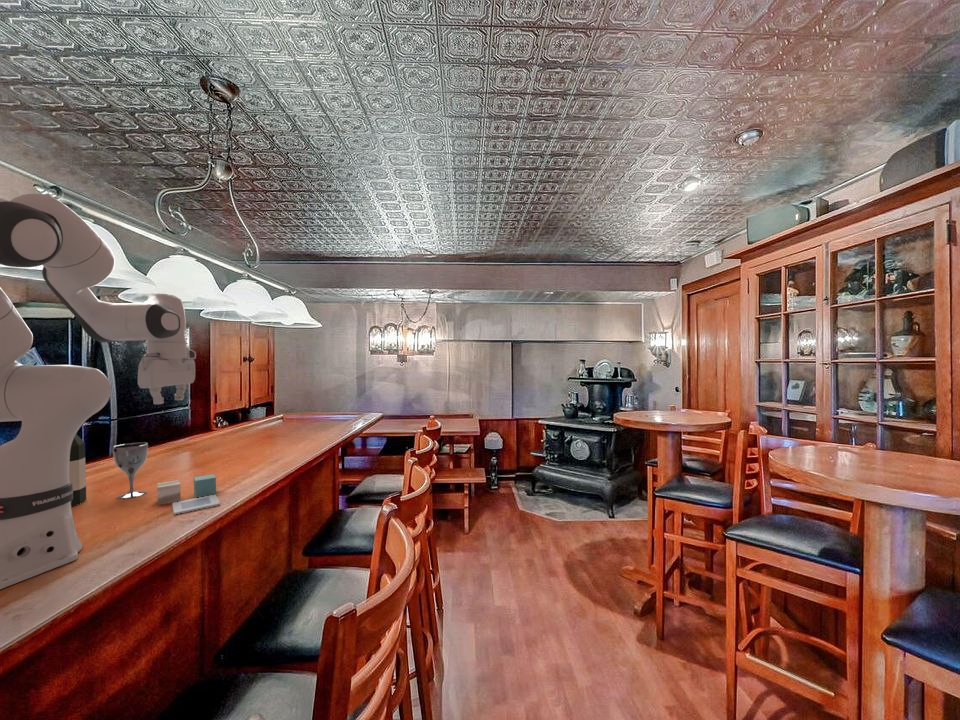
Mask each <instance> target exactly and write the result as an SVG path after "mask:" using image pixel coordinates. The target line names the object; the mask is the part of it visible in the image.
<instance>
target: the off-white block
mask: <svg viewBox="0 0 960 720" xmlns="http://www.w3.org/2000/svg"><path fill="white" fill-rule="evenodd" d="M156 484H157V485H156V486H157V491H156V492H157V494H156V495H157V506H162V505H161V504H163V505H167V504H166V503H168V504H172V502H173V503H174V502H177V501H178V502H179V501H182V500H181V497H182V496H181V482H180V479H176V480H172V481H171V480H170V481H165V482H159V483H156Z"/></svg>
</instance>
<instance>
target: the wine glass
mask: <svg viewBox="0 0 960 720" xmlns="http://www.w3.org/2000/svg"><path fill="white" fill-rule="evenodd" d="M148 452H149V443H148V442H145V441H144V442H143V441H142V442H139V441H138V442H131V443H123V444H118V445H114V446H112V457H113V461H114V464H115V466H116V467H117V468H118V469H119V470H121V471H122V472H123V473H124V474H126V476H127V478H128V482H129V491H128V492H126V493H123V494H120V495H117V496H118V497H117V496H116V497H117V498H118V499H117V500H128V499H127V498H129V499H134V497H135V498H139V497H141V496H144V495H147V494H148V491H147V490H134V481H135V476H136V474H137V472H138V471H139V470H140V469H141V467H142V466H144V464H145V462H146V461H147V457H148V454H149V453H148Z"/></svg>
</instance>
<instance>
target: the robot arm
mask: <svg viewBox="0 0 960 720" xmlns="http://www.w3.org/2000/svg"><path fill="white" fill-rule="evenodd" d="M113 252H114V251H113V250H112V249H111V248H110V246H109V244H108V243H107V242H106V241H105V240H104V239H103V238H102V237H101V236H100V235H99V233H98V232H96V231H95V229H94V228H93V227H92V226H90V224H88V223H87V222H86V221H85V220H84V219H83V218H82V217H81V216H80V215H79V214H78V213H76V212H75V211H74V210H73V209H72V208H70V207H69V206H68V205H66V204H64V203H63V202H62V201H61V200H59V199H57V198H55V197H52V196H50V195H48V194H42V193H28V194H22V195H21V194H20V195H19V196H16V197H14V198H12V199H10V200H7V199H4V198H2V197H0V265H2V266H5V267H13V268H35V267H39V266H43V268H42V273H41V274H42V278H43V280H44V282H45V284H46V285H47V286H48V288H49V289H50V290H51V292H52V293H53V294H54V295H55V296H56V297H57V298H58V300H59V301H60V302H61V303H62V304H63V305H64V306H65V307H66V308H67V310H68V311H70V312H71V314H72V315H73V316H74V317H75V319H77V321H78V322H79V323H80V325H81V328H82V330H83V331H84V333H85V334H86V335H87V336H89V338H91V339H93V340H94V341H96V342H99V343H113V342H121V341H122V342H124V341H125V342H127V341H129V342H130V341H132V342H133V341H146V351H147V352H145V353H144V355H143V356H142V357H141V359H140V360H141V361H140V362H139V364H138V370H137V385H138V387H139V388H140V389H149V390H148V391H149V393H150V395H151V397H152V400H153V401H152V402H153V405H162V404H164V403H165V397H164V396H162V393H161V392H162V388H164V387H171V386H175V389H176V392H175V394H174V395H173V396H174V399H173V400H174V401H183V400H184V399H185V392H186V389H187V385H188V384H193V383H194V382H195V380H196V361H195V360H196V358H197V354H196V353H197V352H196V351H195V350H192V349H191V348H190V347H189V346H188V345H187V339H186V336H185V335H186V333H185V332H186V329H187V321H186V313H185V312H186V311H185V306H184V303H183V301H182V300H183V299H181V298H180V297H178V296H177V295H176V296H175V295H173V294H167V293H152V294H150V295H149V296H148V298H147V300H145V301H142V302H130V303H129V302H128V303H127V302H126V303H125V302H122V303H121V302H119V303H116V302H108V301H102V300H100V299H98V297H96V295H95V294H94V292H93V291H92V290H91V289H90V288H93V287H95V286H98V285H100V284H102V283H103V282H105V281H106V280H107V279H108V278H109V277H110V276H111V274H112V273H113V272H114V269H115V266H116V257H115V254H114V253H113ZM33 340H34V336H33V332H32V331H31V329H30V328H29V327H28V325H27V323H26V322H25V320H24V319H23V317H22V316H21V314H20V313H19V312H18V310H17V309H16V306H15V305H14V304H13V303H12V301H11V299H10V298H9V296H8V295H7V294H6V293H5V291H4V290H3V288H1V286H0V423H2V422H5V423H6V422H19V421H20V422H21V427H20V430H19V432H18V434H17V436H16V437H15V438H14V439H12V440H9V441H8V442H5V443H2V445H0V590H2V589H4V588H7V587H9V586H12V585H15V584H18V583H19V582H22V581H25V580H28V579H30V578H32V577H35V576H38V575H40V574H43V573H45V572H48V571H51V570H53V569H56V568H58V567H61V566H64V565H66V564H68V563H71V562H74V561H76V560H77V559H78V558H79V554H78V553H79V552H80V551H81V550H82V549H83V545H82V542H81V540H80V539H79V535H78V531H77V530H76V526H75V522H74V516H73V511H72V506H71V502H72V499H73V487H72V482H70V481H69V464H70V450H71V445H72V442H73V439H74V437H75V435H76V434H77V433H78V431H80V428H81V427H82V426H83V424H85V422H86V421H87V420H88V419H89V418H91V417H92V416H93V415H95V414H97V413H99V411H101V410H102V409H103V408H104V407H105V406H106V405H107V403H108V402H109V400H110V397H111V394H112V386H111V383H110V380H109V378H108V377H107V375H106V374H105V373H103V372H102V371H101V370H100V369H98V368H94V367H88V366H84V365H83V366H81V365H73V364H46V365H45V364H44V365H43V364H42V365H41V364H40V365H35V364H34V365H30V364H29V365H27V364H26V365H25V364H22V363H19V362H18V360H19V359H22V357H23V356H25V355H26V354H28V352H29V351H30V349H31V348H32V346H33V342H34V341H33Z"/></svg>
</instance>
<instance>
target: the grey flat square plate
mask: <svg viewBox="0 0 960 720" xmlns="http://www.w3.org/2000/svg"><path fill="white" fill-rule="evenodd" d="M171 504H172V505H171V506H172V512H173V515H174V516H176V514H178V515H181V514H180V513H182V514H186V512H187V513H191V512H190V511H192V512H195V511H194V510H196V511H199V510H198V509H201V510H204V509H203V508H206V509H210V508H209V507H211V508H214V507H213V506H215V507H219V506H218V505H220V506H221V502H220V500H219V498H218V497H217V493H216V494H214V495H209V496H204V497H199V498H195V497H194V498H188V499H185V500H181V501H178V502H173V503H171Z"/></svg>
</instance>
